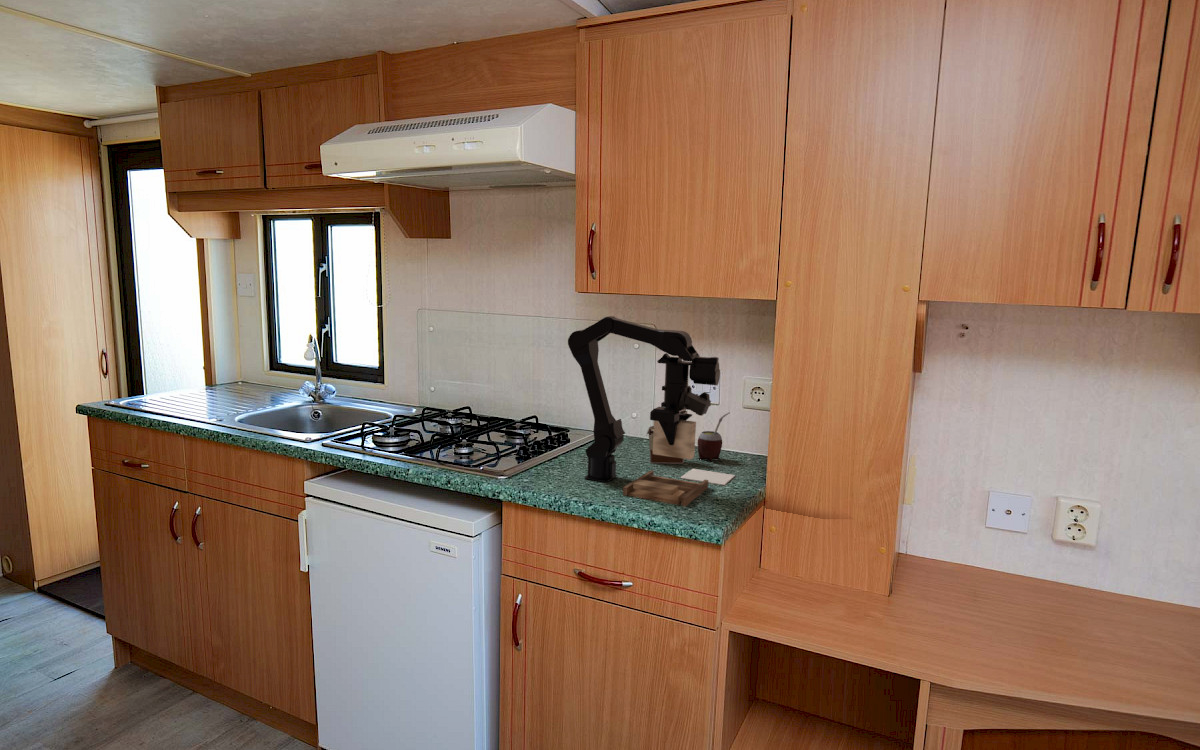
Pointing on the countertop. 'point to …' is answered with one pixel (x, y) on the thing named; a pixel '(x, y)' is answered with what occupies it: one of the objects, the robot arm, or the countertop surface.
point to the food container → (660, 458)
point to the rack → (690, 488)
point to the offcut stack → (657, 492)
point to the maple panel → (682, 443)
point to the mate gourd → (710, 443)
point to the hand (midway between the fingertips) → (673, 443)
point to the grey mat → (707, 476)
